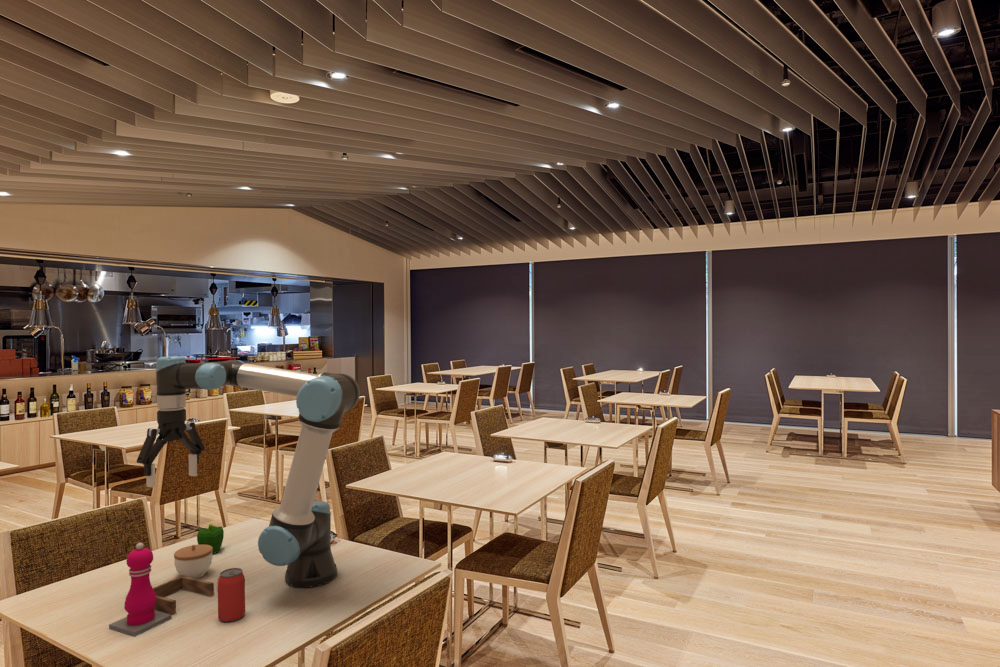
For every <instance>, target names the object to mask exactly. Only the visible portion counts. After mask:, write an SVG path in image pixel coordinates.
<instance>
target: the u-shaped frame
mask: <svg viewBox="0 0 1000 667" xmlns="http://www.w3.org/2000/svg"><path fill="white" fill-rule="evenodd" d="M214 586H215V583H214V582H211V581H207V580H202V579H200V578H196V579H195V578H191V577H186V576H181V575H180V576H178V577H175V578H173V579H171V580H169V581H166V582H164V583H162V584H160V585H157V586H155V587H152V588H153V589H154V591H155V593H156V597H157V602H156V604H155V606H154V607H153V608H154V609H155V610H156V611H159V612H163V613H167V614H170V615H171V616H173V615H177V600H176V599H171V598H168V596H170V595H172V594H174V593H177V592H179V591H182V590H183V591H187V592H191V593H195V594H199V595H200V594H201V595H203V596H204V595H205V596H208V597H213V596H214V595H215V587H214Z"/></svg>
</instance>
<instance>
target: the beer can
mask: <svg viewBox="0 0 1000 667" xmlns="http://www.w3.org/2000/svg"><path fill="white" fill-rule="evenodd" d="M245 578H246V577H245V575H244V570H243V569H242V568H240V567H231V568H225V569H223V570H222V571H220V573H219V577H218V580H217V617H218V620H219V621H220V622H224V623H229V622H235V621H238V620H240V619H241V618H243V617H244V615H245V614H246V579H245Z"/></svg>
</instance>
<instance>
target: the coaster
mask: <svg viewBox="0 0 1000 667" xmlns="http://www.w3.org/2000/svg"><path fill="white" fill-rule="evenodd" d="M172 616H173V615H171V614H167V613H164V612H160V611H156V610H155V617H154V618H153V619H152V620H151V621H149V622H147V623H144V624H140V625H129V624H128V623H127V616H124V617H123V618H121V619H119V620H116V621H114V622H112V623H110V624H108V629H110V630H112V631H116V632H119V633H121V634H126V635H130V636H131V637H138V636H139V635H141V634H143V633H145V632H147V631H149V630H151V629H153V628H155V627H157V626H159V625H161V624H164V623H165V622H167V621H170V620H172Z"/></svg>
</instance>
